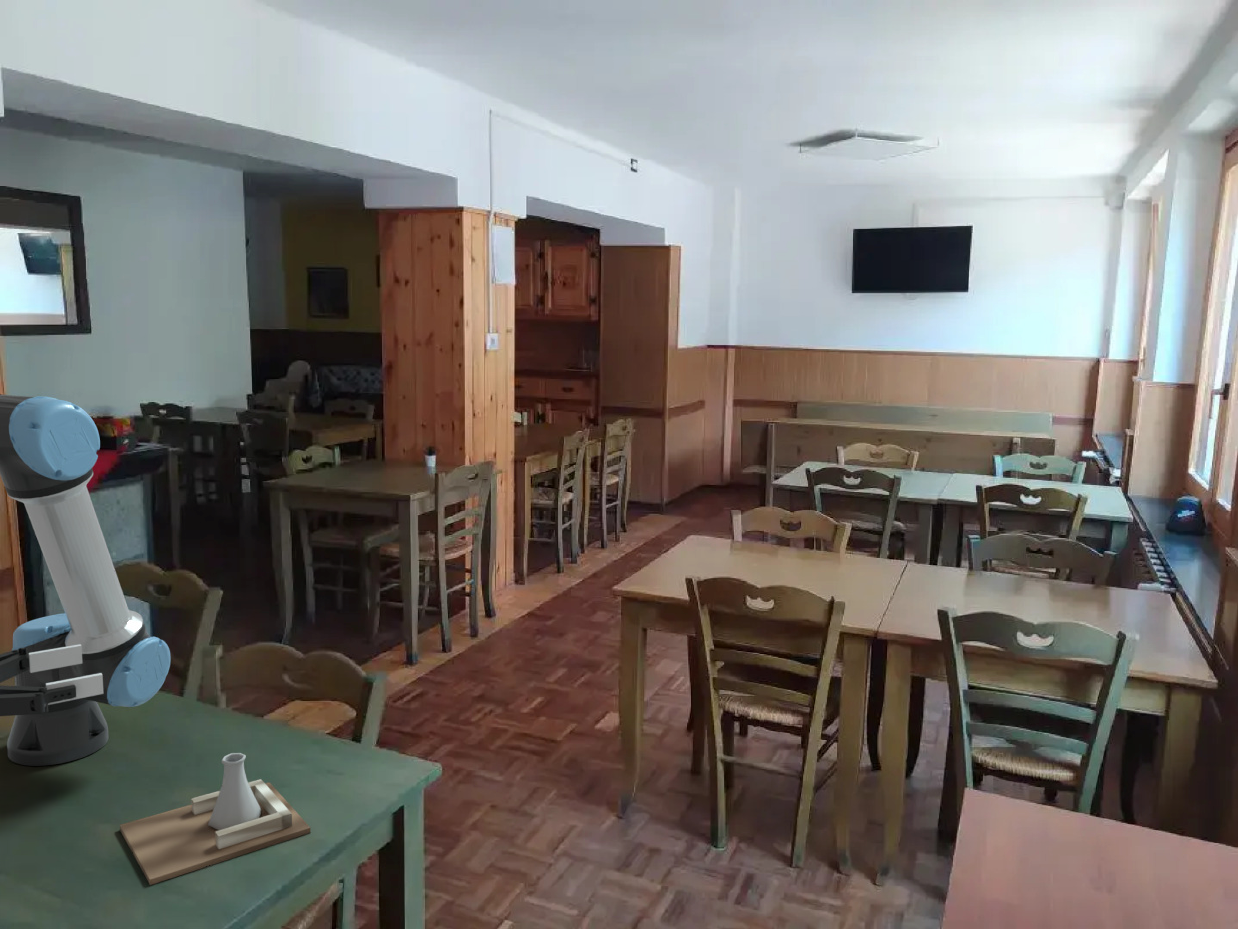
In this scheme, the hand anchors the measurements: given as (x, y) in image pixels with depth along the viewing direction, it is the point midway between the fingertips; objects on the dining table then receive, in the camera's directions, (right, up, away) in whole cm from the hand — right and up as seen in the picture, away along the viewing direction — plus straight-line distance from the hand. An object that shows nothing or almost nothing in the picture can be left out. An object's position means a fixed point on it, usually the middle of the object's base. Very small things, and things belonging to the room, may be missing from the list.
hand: (91, 668), depth 133 cm
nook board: (+14, -26, +7) cm, 30 cm away
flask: (+17, -25, +9) cm, 31 cm away
